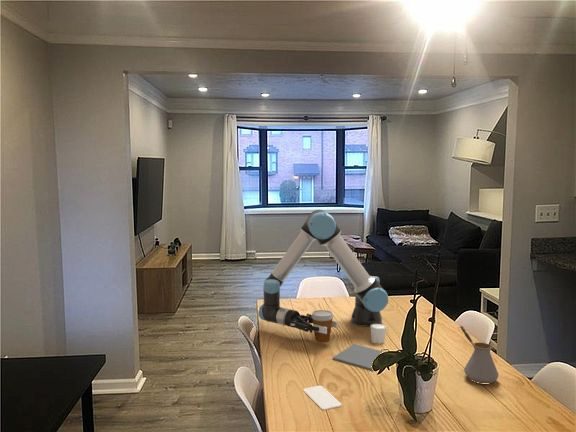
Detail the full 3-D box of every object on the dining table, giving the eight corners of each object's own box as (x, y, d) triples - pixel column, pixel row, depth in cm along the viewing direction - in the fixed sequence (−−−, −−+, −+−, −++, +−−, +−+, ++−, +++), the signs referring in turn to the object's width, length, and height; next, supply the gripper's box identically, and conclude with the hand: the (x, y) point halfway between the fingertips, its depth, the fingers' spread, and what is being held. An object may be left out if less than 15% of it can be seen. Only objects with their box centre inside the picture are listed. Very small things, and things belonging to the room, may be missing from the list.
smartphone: (320, 385, 160) (342, 404, 146) (320, 387, 160) (342, 407, 146) (302, 388, 157) (322, 409, 143) (302, 391, 157) (322, 411, 143)
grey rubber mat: (353, 345, 197) (354, 343, 197) (393, 355, 186) (393, 353, 186) (332, 359, 182) (332, 357, 182) (373, 371, 172) (373, 369, 172)
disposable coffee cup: (328, 335, 203) (328, 308, 201) (336, 342, 194) (337, 315, 192) (308, 337, 200) (308, 310, 199) (316, 345, 191) (316, 317, 190)
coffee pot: (505, 386, 161) (507, 345, 159) (474, 388, 159) (476, 346, 157) (472, 361, 182) (473, 324, 180) (445, 362, 180) (446, 325, 178)
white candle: (366, 341, 202) (367, 326, 201) (375, 337, 207) (375, 322, 206) (380, 345, 197) (380, 329, 197) (388, 341, 202) (389, 325, 202)
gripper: (301, 319, 215) (344, 329, 202) (274, 332, 199) (318, 343, 185) (301, 304, 215) (344, 312, 201) (274, 315, 198) (318, 325, 185)
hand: (331, 327), depth 193 cm, fingers closed on disposable coffee cup, 8 cm apart
